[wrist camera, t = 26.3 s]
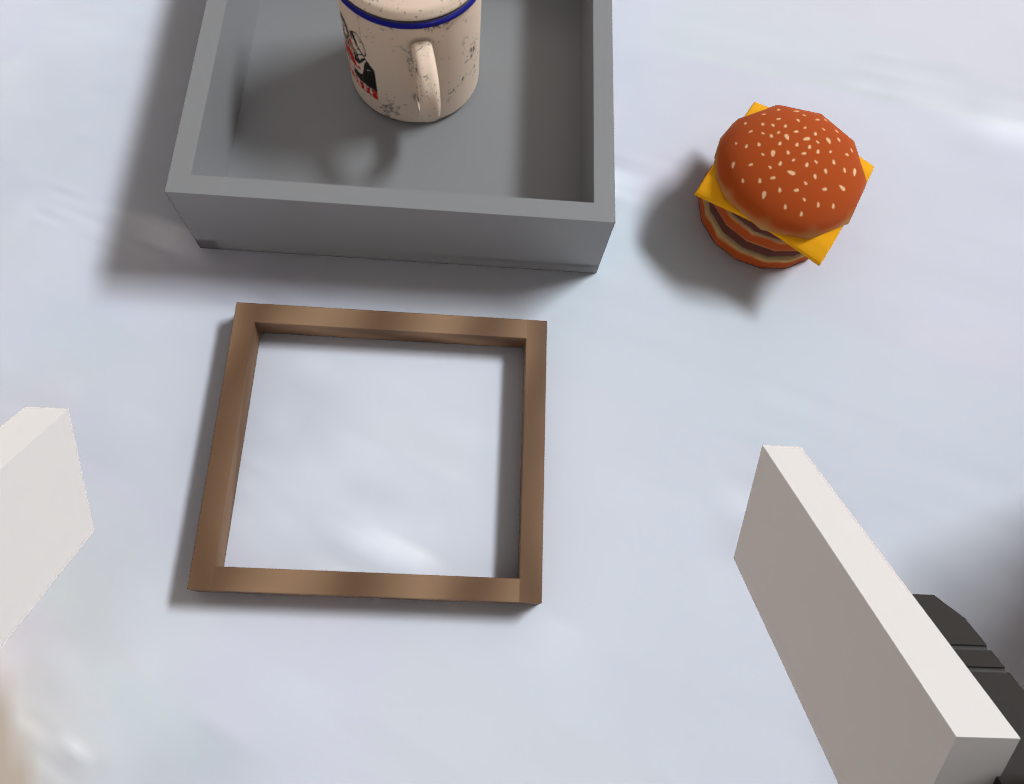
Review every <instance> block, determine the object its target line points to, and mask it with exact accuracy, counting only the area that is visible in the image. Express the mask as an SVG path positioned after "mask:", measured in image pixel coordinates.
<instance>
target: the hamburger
mask: <svg viewBox="0 0 1024 784" xmlns="http://www.w3.org/2000/svg"><path fill="white" fill-rule="evenodd" d="M873 168H874V167H873V166H872V165H871V164H870V163H868V162H867V161H865V160H864V159H862V158H861V157H859V155H858V152H857V149H856V146H855V143H854V141H853V140H852V139H851V138H849V137H848V136H847V135H846V134H845V133H843V132H842V131H841V130H840V129H839V128H837V127H836V126H835V125H834V124H833V123H831V122H830V121H829V120H828V119H827V118H825V117H824V116H823V115H822V114H819V113H814V112H810V111H805V110H800V109H795V108H791V107H786V106H781V105H775V106H773V107H770V108H769V107H766V106H764V105H761V104H759V103H756V102H754V103H753V105H752V106H751V108H750V109H749V110H748V112H747V113H746V115H745V116H744V117H742V118H739V119H738V120H737V121H735V122H734V123H733V124H732V125H731V126H730V128H729V129H728V130H727V131H726V132H725V134H724V135H723V136H722V137H721V138H720V141H719V144H718V147H717V150H716V154H715V160H714V164H713V166H712V167H711V169H710V170H709V171H708V172H707V174H706V176H705V178H704V180H703V181H702V183H701V184H700V186H699V188H698V189H697V191H696V192H695V194H694V195H695V196H697V197H699V206H700V213H701V219H702V222H703V224H704V226H705V227H706V229H707V231H708V232H709V234H710V235H711V237H712V239H713V240H714V242H715V243H716V244H717V245H718V246H719V247H721V248H722V249H723V250H725V251H726V252H727V253H728V254H730V255H731V256H732V257H733V258H735V259H737V260H740V261H743V262H746V263H748V264H751V265H754V266H757V267H760V268H787V267H789V266H792V265H794V264H797V263H799V262H801V261H804V260H806V259H810V260H811V261H813V262H814V263H816V264H817V265H820V264H821V262H822V261H823V259H824V258H825V256H826V254H827V253H828V251H829V249H830V248H831V246H832V244H833V243H834V241H835V239H836V237H837V236H838V234H839V232H840V230H841V229H842V227H843V225H846V224H848V223H849V221H850V219H851V217H852V215H853V213H854V210H855V208H856V206H857V204H858V202H859V199H860V197H861V195H862V193H863V191H864V189H865V186H866V183H867V181H868V179H869V177H870V175H871V173H872V170H873Z"/></svg>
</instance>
